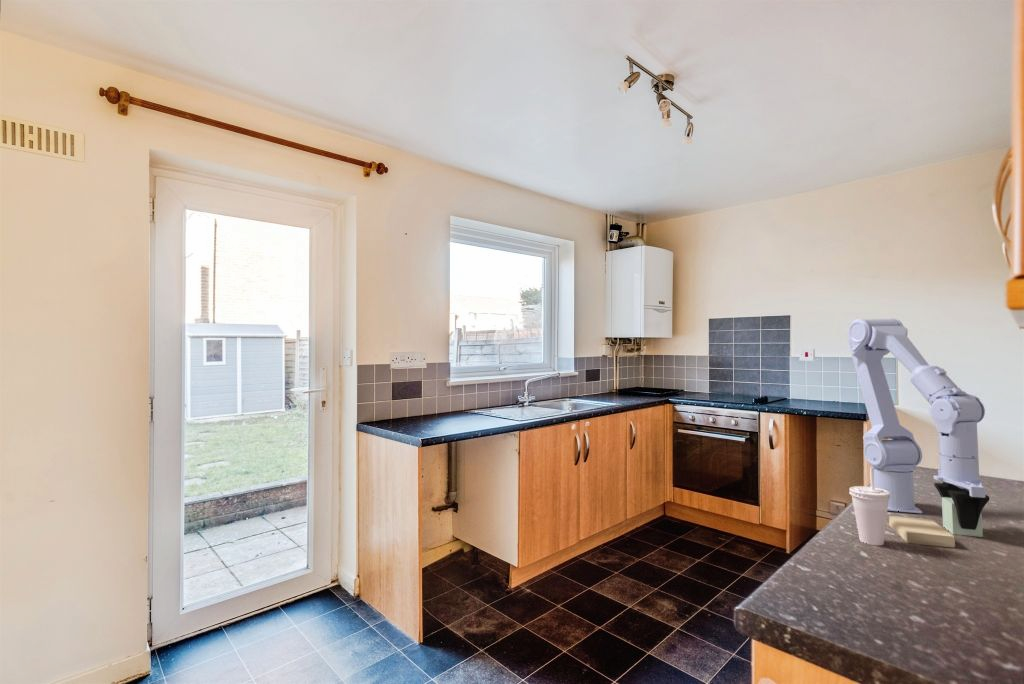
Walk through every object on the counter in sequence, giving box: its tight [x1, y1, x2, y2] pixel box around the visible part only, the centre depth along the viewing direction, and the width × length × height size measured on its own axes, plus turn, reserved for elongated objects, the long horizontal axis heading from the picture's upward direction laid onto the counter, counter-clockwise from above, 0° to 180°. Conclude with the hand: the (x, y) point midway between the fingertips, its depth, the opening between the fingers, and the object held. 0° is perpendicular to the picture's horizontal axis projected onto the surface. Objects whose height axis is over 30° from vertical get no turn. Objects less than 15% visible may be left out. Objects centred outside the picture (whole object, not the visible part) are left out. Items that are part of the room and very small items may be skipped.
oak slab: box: [888, 515, 956, 548], centre depth 94 cm, size 10×7×2 cm
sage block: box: [941, 497, 984, 538], centre depth 96 cm, size 4×4×6 cm
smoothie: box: [849, 466, 891, 547], centre depth 92 cm, size 6×6×14 cm
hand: (961, 524), depth 96 cm, fingers closed on sage block, 4 cm apart
